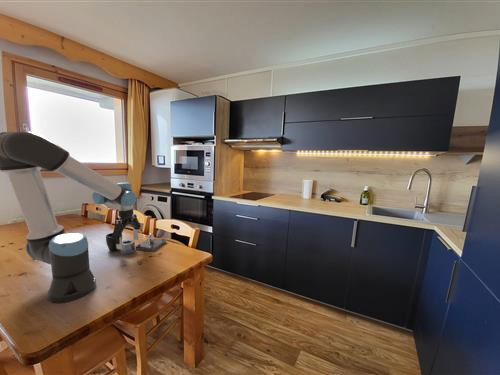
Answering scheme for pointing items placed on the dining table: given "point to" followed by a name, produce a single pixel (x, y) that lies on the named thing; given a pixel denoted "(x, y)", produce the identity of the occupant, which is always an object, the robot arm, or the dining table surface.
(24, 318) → the dining table surface
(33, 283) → the dining table surface
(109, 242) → the mug
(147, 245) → the shaft block
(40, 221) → the robot arm
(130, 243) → the hub
